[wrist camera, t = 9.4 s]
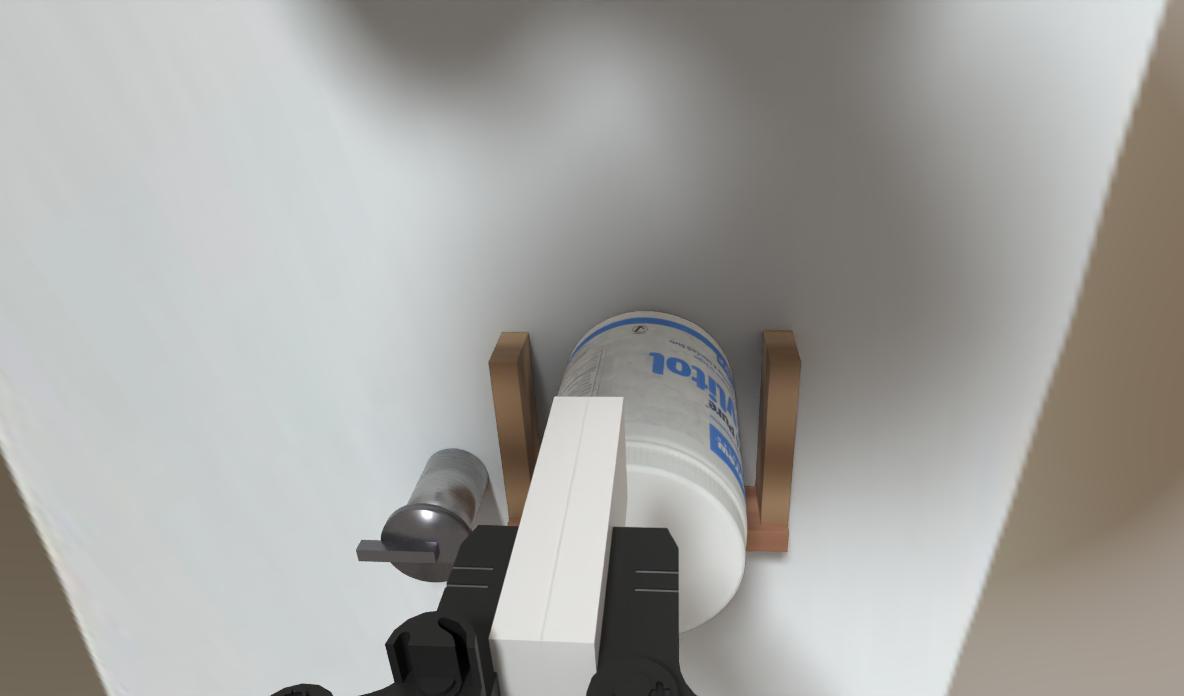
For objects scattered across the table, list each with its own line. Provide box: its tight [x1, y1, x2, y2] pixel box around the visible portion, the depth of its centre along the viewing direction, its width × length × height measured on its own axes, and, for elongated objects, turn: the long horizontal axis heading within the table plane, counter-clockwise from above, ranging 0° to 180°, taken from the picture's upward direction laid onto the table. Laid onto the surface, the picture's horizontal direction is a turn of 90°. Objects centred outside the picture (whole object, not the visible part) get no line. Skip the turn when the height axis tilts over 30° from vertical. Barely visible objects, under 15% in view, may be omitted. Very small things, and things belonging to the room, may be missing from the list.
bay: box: [489, 331, 801, 552], centre depth 44 cm, size 12×16×4 cm
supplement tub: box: [523, 311, 747, 633], centre depth 37 cm, size 10×10×15 cm
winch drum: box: [356, 449, 488, 582], centre depth 45 cm, size 5×6×7 cm
